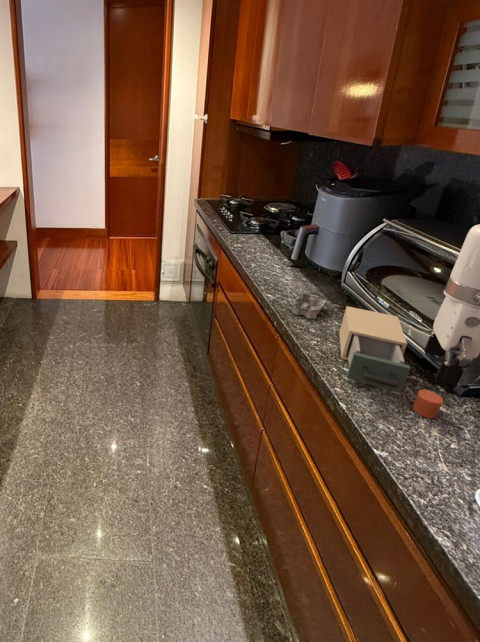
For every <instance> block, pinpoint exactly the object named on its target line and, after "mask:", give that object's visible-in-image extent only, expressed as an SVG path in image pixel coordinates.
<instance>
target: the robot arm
mask: <svg viewBox="0 0 480 642" xmlns="http://www.w3.org/2000/svg"><path fill="white" fill-rule="evenodd" d="M443 295H444V296H445V297H444V299H443V301H442V303H441V305H440V307H439V309H438V312H437V314H436V317H435V319H434V322H433V325H432V330H431V331H430V335H429V337H428V339H427V342H426V344H425V347H424V349H423V352H424V354H427V355H432V356H435V357H440V358H443V357H444V356H445V357H444V361H441V363H440V366H439V368H438V370H437V371H436V372H437V373H436V375H435V377H434V379H435V381H436V382H439V383H442V384H447V385H449V386H456V387H457V386H458V385H459V382H460V380H461V378H462V377H463V374H464V372H465V371H466V370H467V368H469V366H470V364H471V363H472V362H473V360H474V359H476V358H477V357H478V356H479V355H480V223H479V224H475V225H473V226H472V227H471V228H469V231H468V232H467V234H466V237H465V239H464V242H463V244H462V246H461V249H460V251H459V254H458V256H457V259H456V261H455V263H454V266H453V268H452V270H451V273H450V276H449V277H448V280H447V282H446V284H445V287H444V289H443ZM457 349H459V350H457ZM453 355H455V356H458V357H455V358H453Z"/></svg>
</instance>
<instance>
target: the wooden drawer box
mask: <svg viewBox="0 0 480 642" xmlns="http://www.w3.org/2000/svg"><path fill="white" fill-rule="evenodd" d="M352 334H356V335H361V336H365V337H369V338H374V339H378V340H383V341H387V342H391V343H396V344H399V345H400V348H401V352H402V355H403V356H404V354H405V352H406V348H407V345H408V342H407V339H406V338H407V337H406V336H405V333H404V330H403V327H402V325H401V322H400V318H399V316H398V317H397V316H396V315H392V314H387V313H383V312H377V311H372V310H369V309H368V310H367V309H362V308H358V307H353V306H348V305H346V307H345V311H344V315H343V317H342V320H341V325H340V329H339V346H340V347H339V348H340V357H341V358H340V359H341V360H345V361H348V351H347V350H348V346H349V343H350V339H351V336H352Z"/></svg>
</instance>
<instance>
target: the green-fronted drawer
mask: <svg viewBox="0 0 480 642" xmlns="http://www.w3.org/2000/svg"><path fill="white" fill-rule="evenodd" d="M347 351H348V360H347V361H348V370H347V373H346V379H347V380H351V381H355V382H358V383H362V384H365V385H370V386H373V387H376V388H380V389H384V390H388V391H392V392H395V393H398V394H402V392H403V389H404V387H405V384H406V382H407V379H408V376H409V374H410V371H411V366H410V365H408V364H405V363H406V362H405V358H404V354H403V355H402V352H401V348H400V345H399V344H396V343H391V342H387V341H383V340H378V339H374V338H369V337H365V336H361V335H356V334H352V336H351V339H350V343H349V346H348V350H347Z"/></svg>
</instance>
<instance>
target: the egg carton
mask: <svg viewBox="0 0 480 642" xmlns="http://www.w3.org/2000/svg"><path fill="white" fill-rule="evenodd" d="M325 304H326V300H325V299H322V298H317V297H316V296H314V297H311V294H310V293H308V292H305V290H304V289H303V290H301V291H300V292H299V294H298V295H297V296H296V297H295V299H293V302H292V304H291V306H292V308H291V312H292V313H293V314H294V315H297V316H300V315H301V316H304V317H305V318H307V319H309V320H310V319H313V320H316V319H317V316H318V315H319V314H320V311H322V310H323V307H324V305H325Z"/></svg>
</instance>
